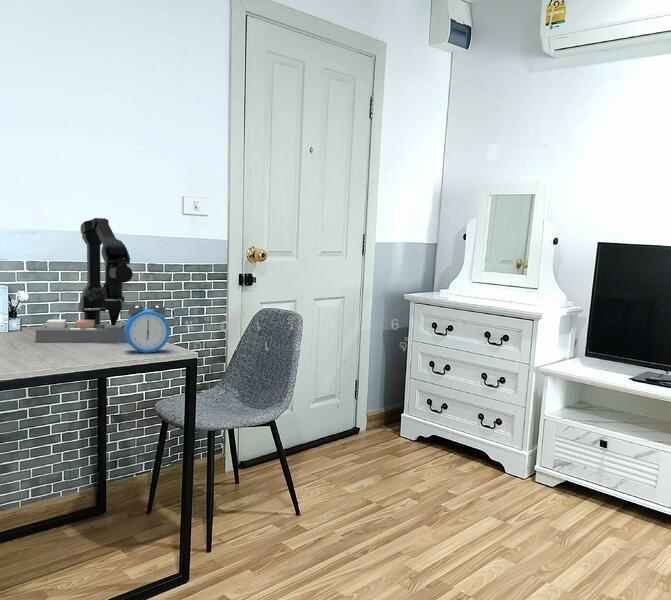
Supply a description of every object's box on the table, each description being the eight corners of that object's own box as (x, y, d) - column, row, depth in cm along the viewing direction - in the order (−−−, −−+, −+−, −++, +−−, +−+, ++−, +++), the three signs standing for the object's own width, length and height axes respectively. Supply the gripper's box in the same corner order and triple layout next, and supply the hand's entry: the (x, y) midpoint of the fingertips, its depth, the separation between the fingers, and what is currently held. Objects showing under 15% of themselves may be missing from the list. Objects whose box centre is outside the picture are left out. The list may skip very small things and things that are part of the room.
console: (42, 335, 211) (42, 323, 211) (129, 336, 219) (129, 324, 219) (35, 342, 199) (35, 329, 198) (127, 342, 207) (127, 330, 206)
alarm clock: (125, 354, 188) (126, 305, 186) (124, 350, 193) (124, 302, 192) (169, 353, 193) (170, 305, 191) (167, 349, 198) (168, 303, 197)
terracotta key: (77, 329, 212) (77, 319, 212) (94, 329, 213) (94, 319, 213) (75, 332, 207) (75, 321, 206) (92, 332, 208) (93, 322, 208)
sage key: (105, 333, 215) (105, 323, 214) (121, 334, 216) (122, 324, 216) (104, 336, 209) (104, 326, 209) (121, 336, 211) (121, 326, 211)
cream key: (49, 329, 209) (49, 319, 209) (66, 329, 211) (66, 319, 211) (46, 332, 204) (46, 321, 204) (64, 332, 206) (64, 321, 205)
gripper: (91, 277, 217) (91, 321, 219) (85, 281, 200) (85, 329, 201) (124, 278, 221) (124, 321, 222) (121, 282, 203) (121, 329, 204)
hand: (113, 325), depth 212 cm, fingers closed, pressing on sage key
